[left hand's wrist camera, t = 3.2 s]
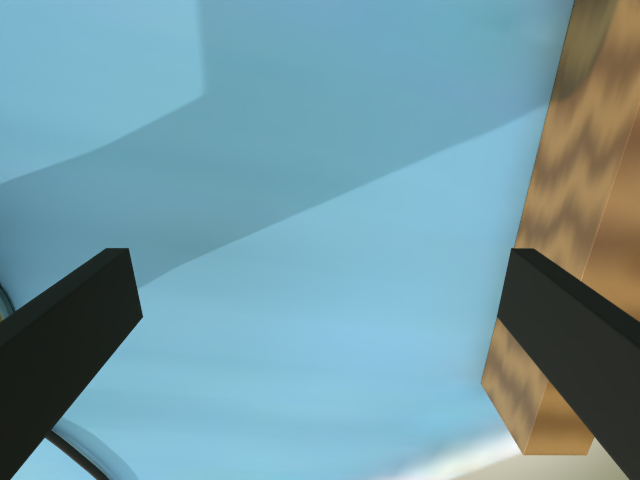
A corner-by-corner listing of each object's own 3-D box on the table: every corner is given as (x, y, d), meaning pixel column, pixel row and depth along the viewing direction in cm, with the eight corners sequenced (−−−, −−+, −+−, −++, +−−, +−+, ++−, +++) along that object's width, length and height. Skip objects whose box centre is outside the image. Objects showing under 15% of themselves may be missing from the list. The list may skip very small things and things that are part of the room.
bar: (531, 384, 39) (586, 455, 31) (480, 383, 39) (523, 455, 31) (846, -631, 17) (1307, -1259, 9) (731, -642, 17) (1100, -1293, 9)
